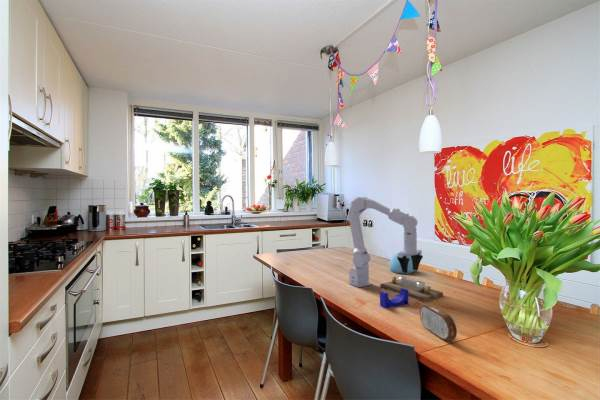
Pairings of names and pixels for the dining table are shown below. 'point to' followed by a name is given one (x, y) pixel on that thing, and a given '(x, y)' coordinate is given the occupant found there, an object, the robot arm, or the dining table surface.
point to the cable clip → (394, 299)
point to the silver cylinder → (412, 284)
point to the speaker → (438, 322)
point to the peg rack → (412, 291)
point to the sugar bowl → (396, 266)
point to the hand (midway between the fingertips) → (410, 271)
